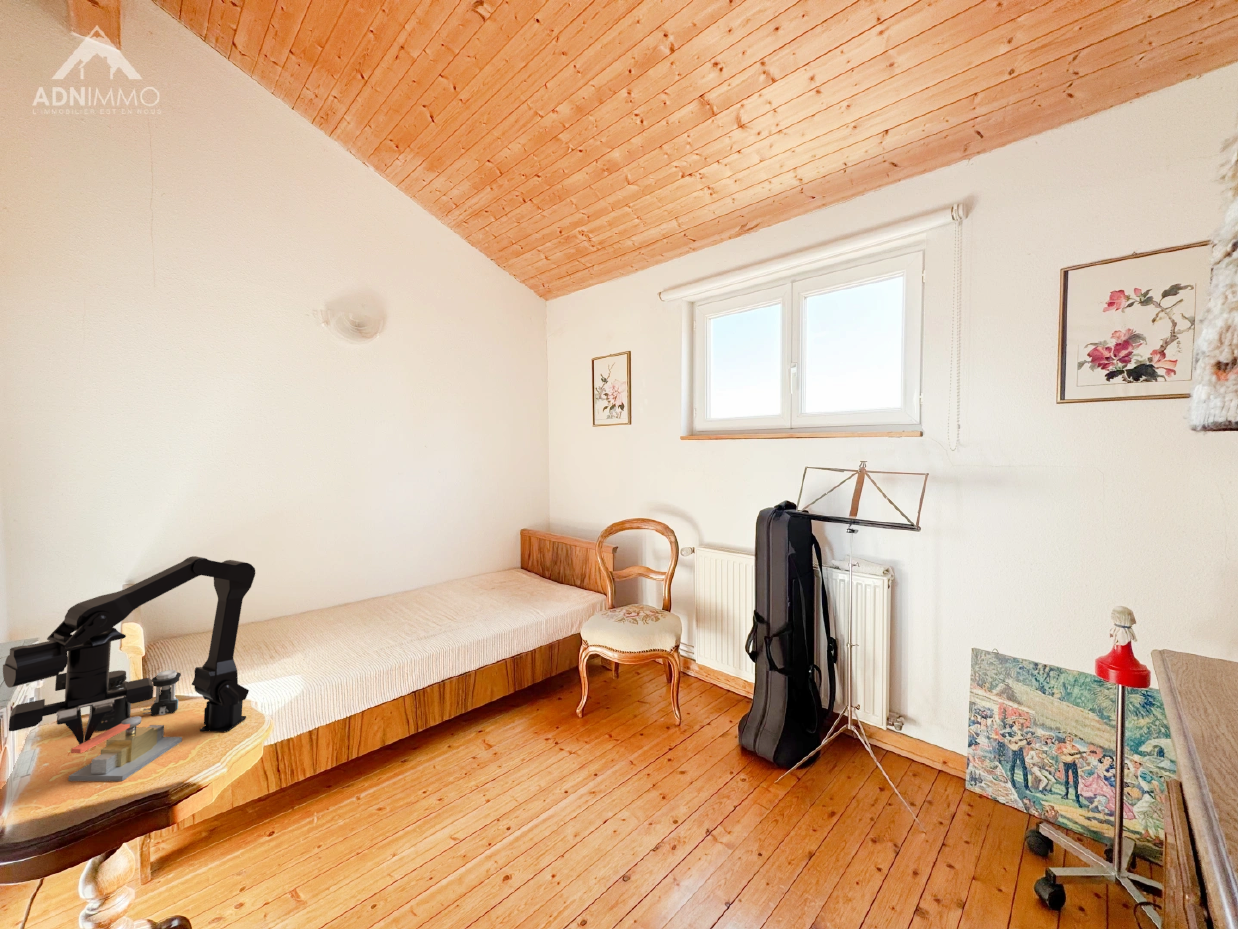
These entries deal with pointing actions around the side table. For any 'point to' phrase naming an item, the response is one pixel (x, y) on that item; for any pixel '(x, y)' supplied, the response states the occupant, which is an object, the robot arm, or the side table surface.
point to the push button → (165, 693)
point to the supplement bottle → (116, 703)
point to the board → (129, 767)
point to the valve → (126, 747)
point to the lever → (107, 734)
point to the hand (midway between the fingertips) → (83, 745)
